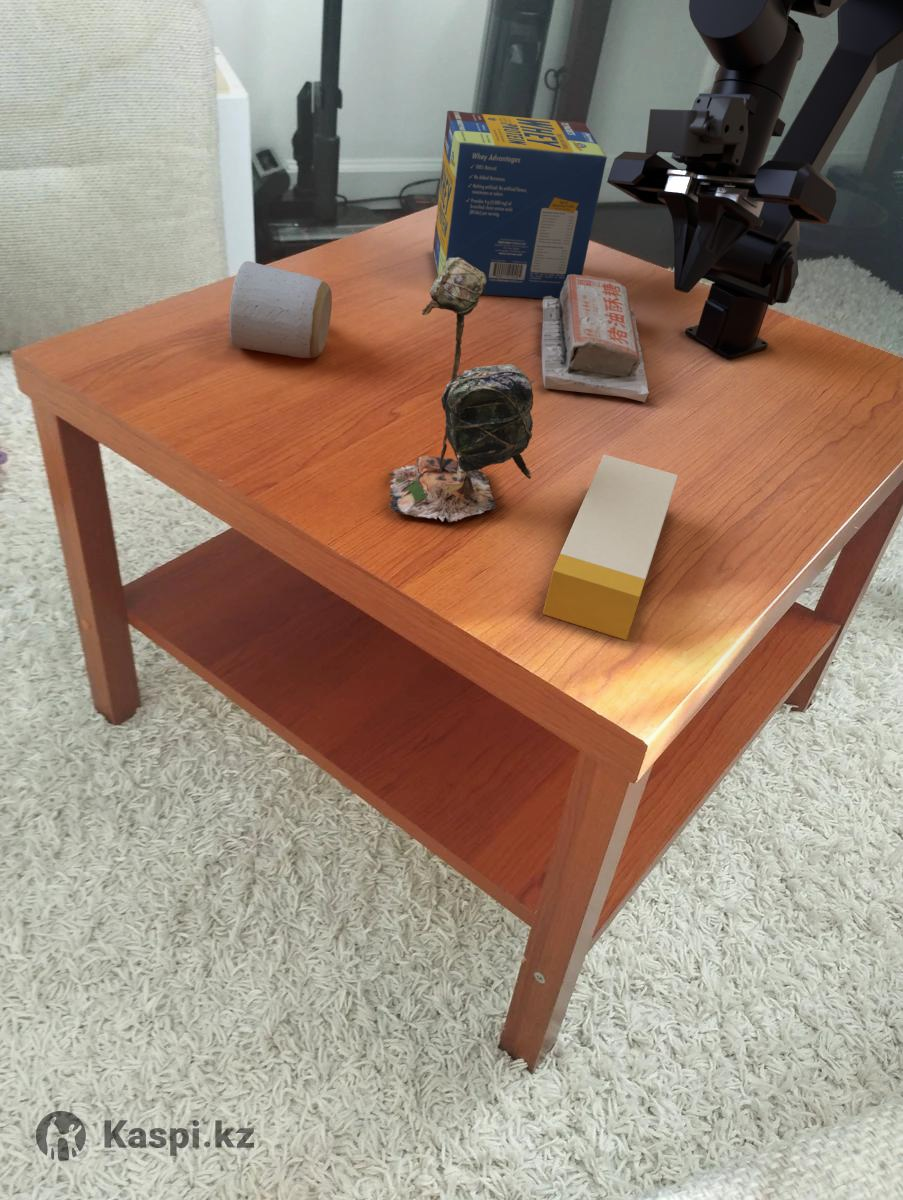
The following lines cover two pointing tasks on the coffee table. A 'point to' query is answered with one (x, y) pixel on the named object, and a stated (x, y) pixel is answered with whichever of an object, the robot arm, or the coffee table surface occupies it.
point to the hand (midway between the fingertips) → (681, 291)
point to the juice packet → (610, 547)
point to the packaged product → (592, 340)
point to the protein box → (517, 200)
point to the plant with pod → (467, 419)
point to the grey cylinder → (279, 311)
